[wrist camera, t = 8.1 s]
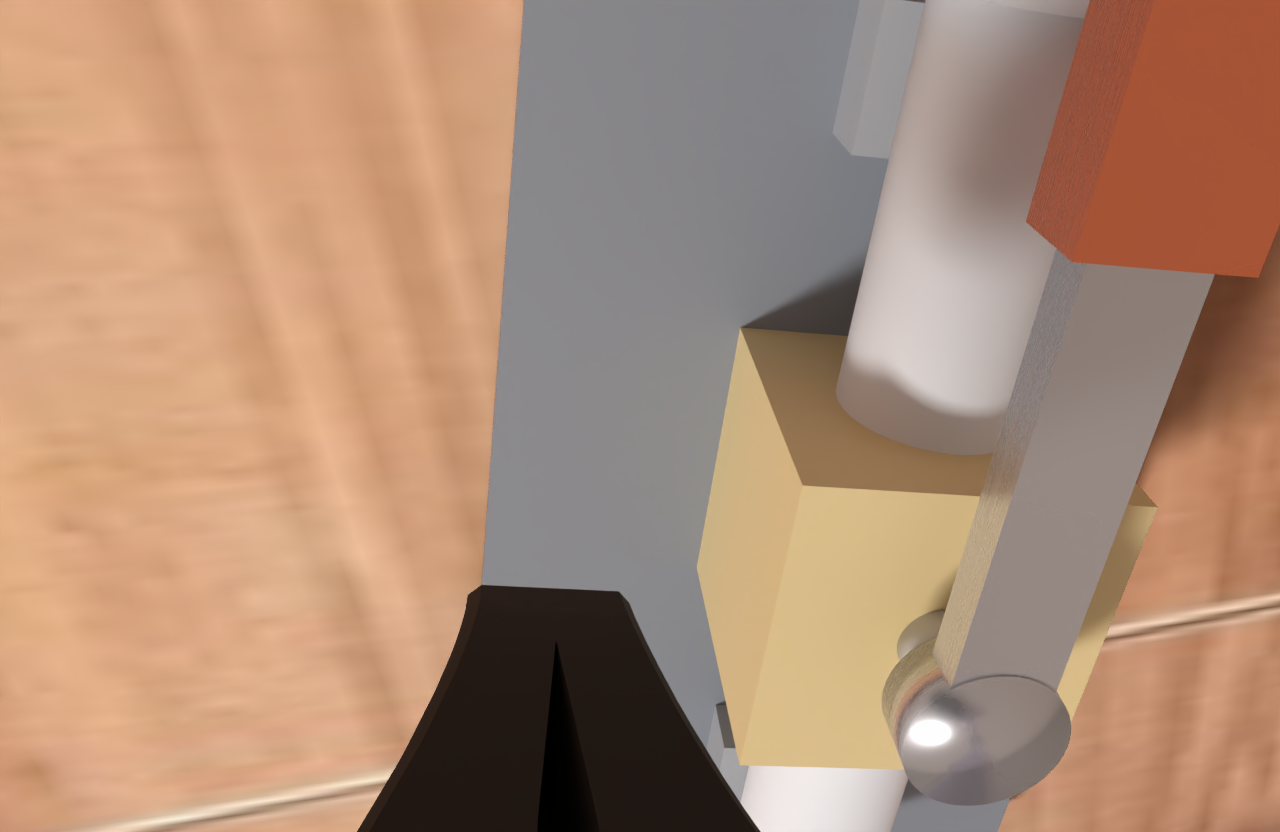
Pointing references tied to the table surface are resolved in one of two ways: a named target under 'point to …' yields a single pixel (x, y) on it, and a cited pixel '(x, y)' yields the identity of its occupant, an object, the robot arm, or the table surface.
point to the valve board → (658, 290)
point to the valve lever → (1094, 367)
